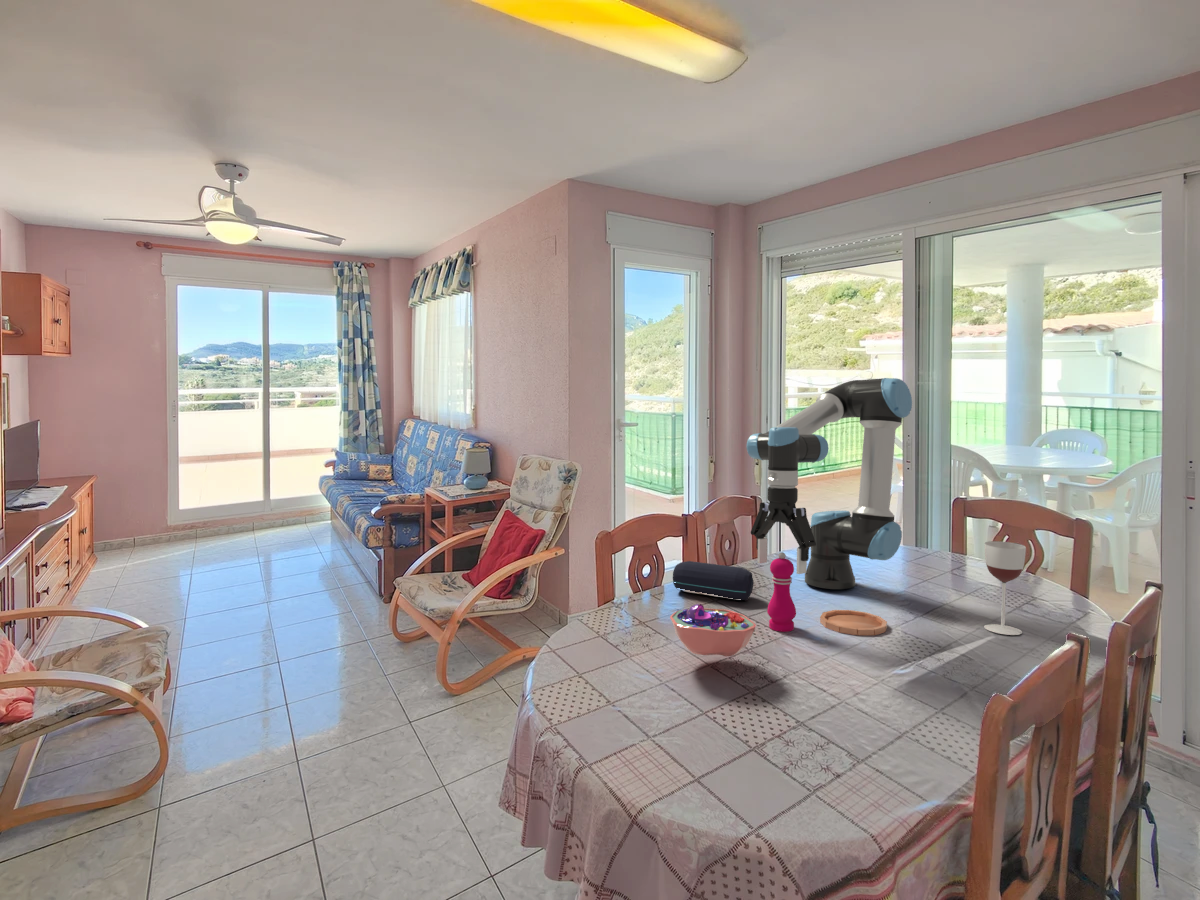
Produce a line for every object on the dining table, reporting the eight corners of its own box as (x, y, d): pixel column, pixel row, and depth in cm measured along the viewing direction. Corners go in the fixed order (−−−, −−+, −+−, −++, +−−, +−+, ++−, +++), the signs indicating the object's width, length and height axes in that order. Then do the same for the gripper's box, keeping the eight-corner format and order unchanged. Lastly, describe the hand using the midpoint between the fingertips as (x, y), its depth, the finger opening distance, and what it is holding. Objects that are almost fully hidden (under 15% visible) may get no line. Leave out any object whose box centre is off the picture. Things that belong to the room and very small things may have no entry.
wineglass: (1016, 625, 163) (1019, 542, 161) (1028, 637, 153) (1031, 549, 152) (978, 621, 165) (980, 540, 164) (988, 633, 156) (990, 547, 155)
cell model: (740, 675, 132) (741, 623, 131) (657, 657, 143) (657, 608, 142) (765, 650, 146) (765, 603, 146) (687, 635, 157) (687, 591, 156)
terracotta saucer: (808, 621, 167) (808, 615, 167) (847, 611, 175) (847, 606, 174) (859, 639, 153) (859, 633, 153) (899, 628, 161) (899, 622, 161)
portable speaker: (758, 598, 189) (758, 566, 188) (747, 606, 180) (747, 573, 180) (682, 587, 202) (682, 556, 201) (669, 594, 194) (669, 563, 193)
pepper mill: (797, 633, 157) (798, 555, 156) (768, 631, 159) (768, 554, 158) (794, 624, 164) (795, 550, 163) (766, 622, 166) (766, 549, 165)
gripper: (738, 483, 169) (737, 560, 170) (810, 491, 147) (808, 580, 148) (758, 481, 172) (757, 557, 173) (832, 490, 151) (830, 576, 152)
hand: (781, 567), depth 161 cm, fingers open, 13 cm apart
